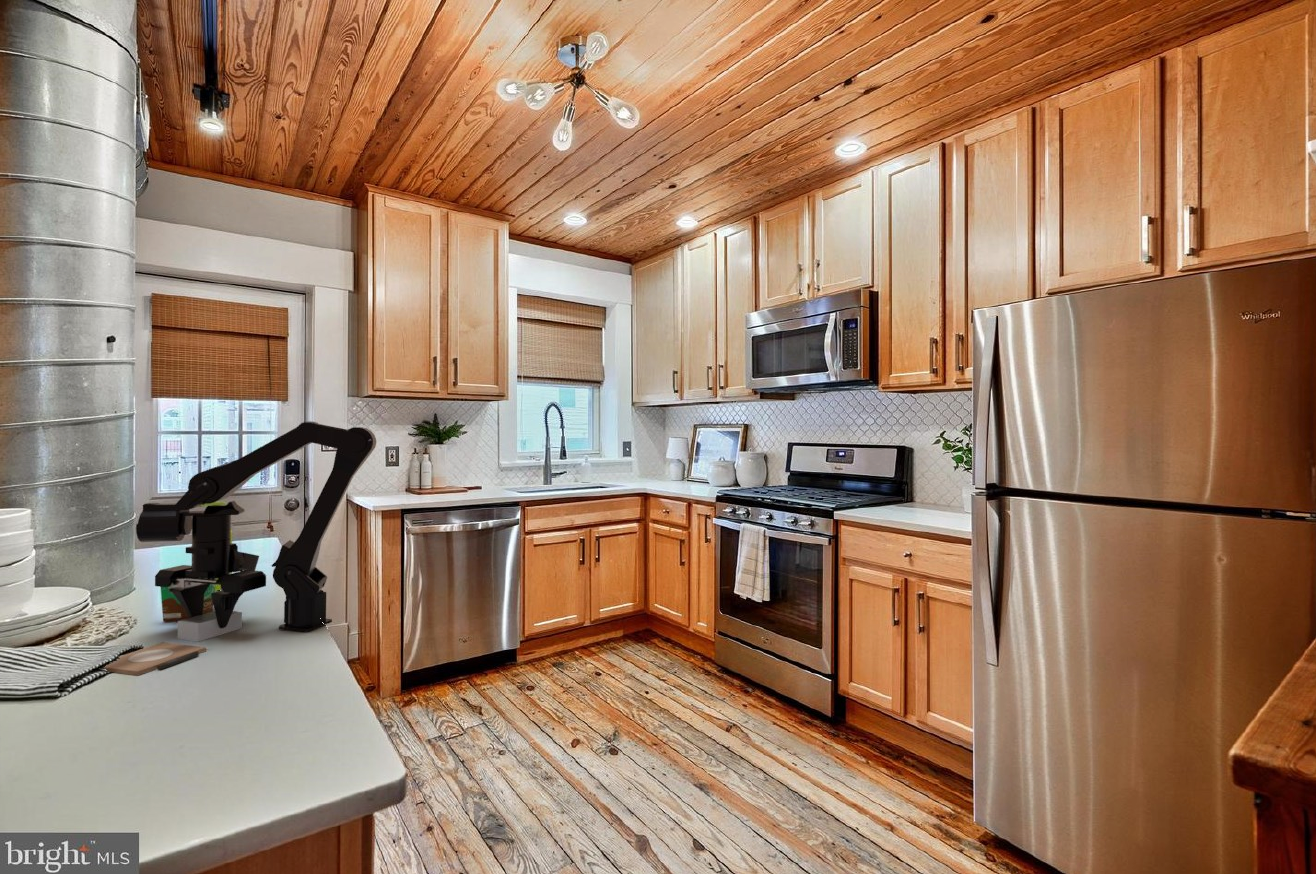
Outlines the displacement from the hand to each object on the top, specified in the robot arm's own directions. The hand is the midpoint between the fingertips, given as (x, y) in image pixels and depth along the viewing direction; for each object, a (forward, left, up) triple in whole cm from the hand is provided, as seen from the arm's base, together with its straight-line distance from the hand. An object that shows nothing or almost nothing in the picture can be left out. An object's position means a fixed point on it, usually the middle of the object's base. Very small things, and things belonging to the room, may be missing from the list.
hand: (210, 626), depth 114 cm
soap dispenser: (+27, -25, -1) cm, 37 cm away
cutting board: (-3, +13, -1) cm, 13 cm away
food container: (+12, -8, -2) cm, 14 cm away
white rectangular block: (0, 0, -1) cm, 1 cm away
